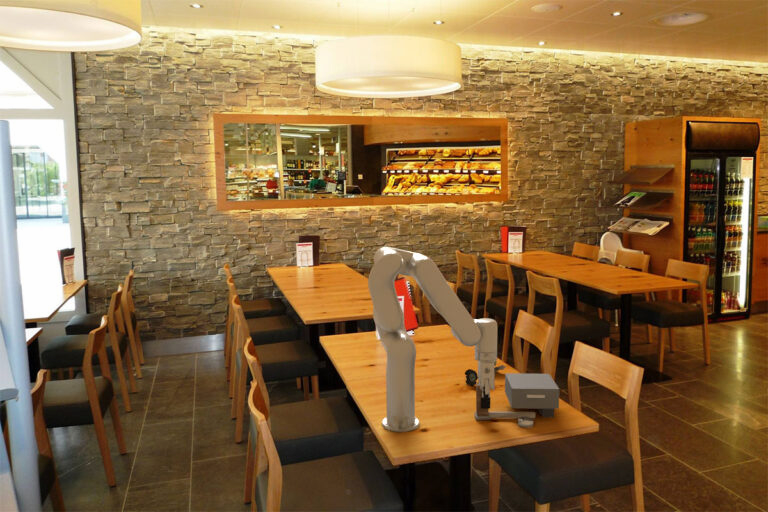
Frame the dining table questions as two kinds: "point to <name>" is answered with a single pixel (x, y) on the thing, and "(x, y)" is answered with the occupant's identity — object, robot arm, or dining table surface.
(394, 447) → the dining table surface
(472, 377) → the artificial flower
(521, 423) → the steel puck
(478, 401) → the scraper
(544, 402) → the charcoal cabinet
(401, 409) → the robot arm
